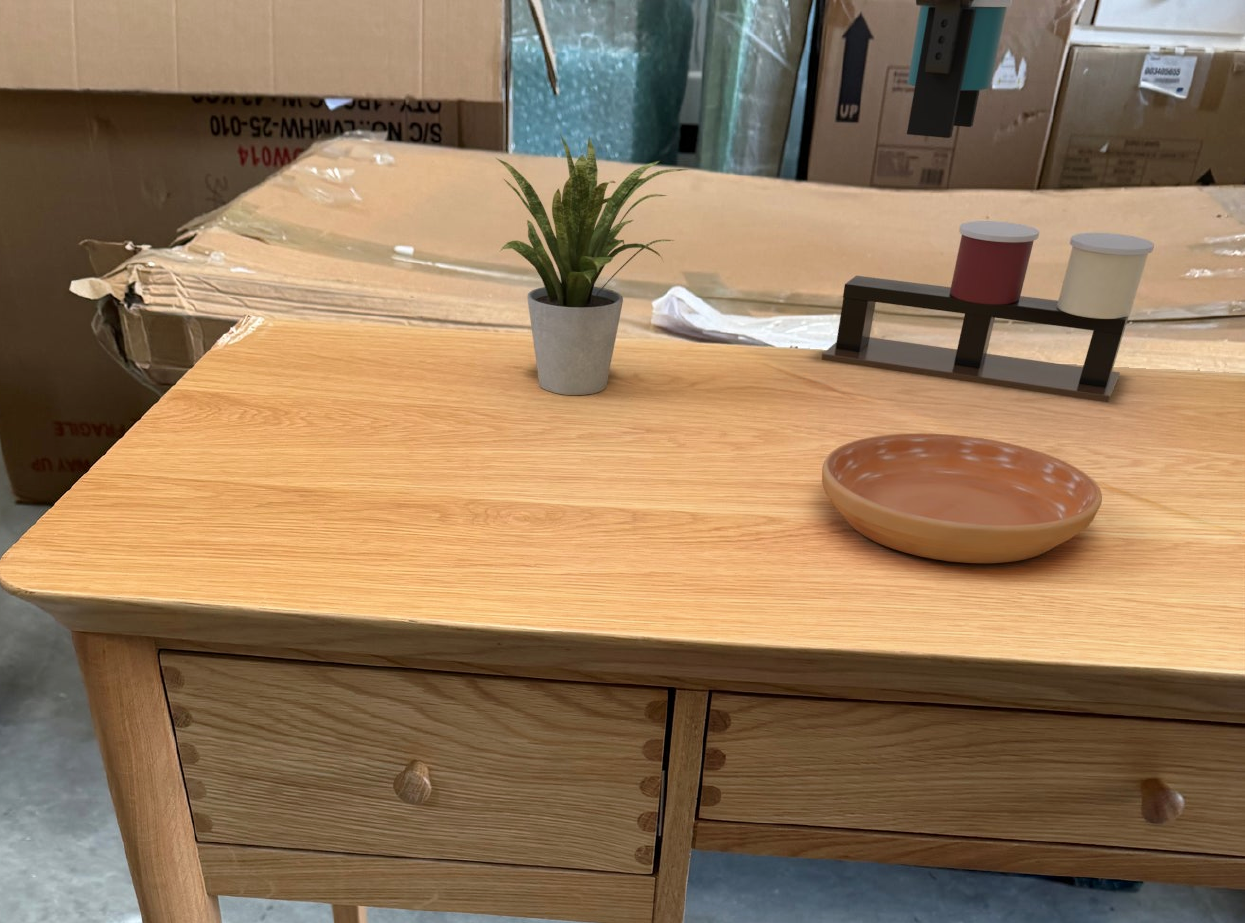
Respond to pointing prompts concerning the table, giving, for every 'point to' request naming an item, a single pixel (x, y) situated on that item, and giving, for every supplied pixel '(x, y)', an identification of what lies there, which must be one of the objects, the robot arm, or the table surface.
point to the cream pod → (1103, 275)
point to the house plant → (576, 275)
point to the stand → (974, 341)
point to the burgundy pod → (992, 262)
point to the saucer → (958, 496)
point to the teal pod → (971, 43)
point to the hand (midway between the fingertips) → (940, 129)
